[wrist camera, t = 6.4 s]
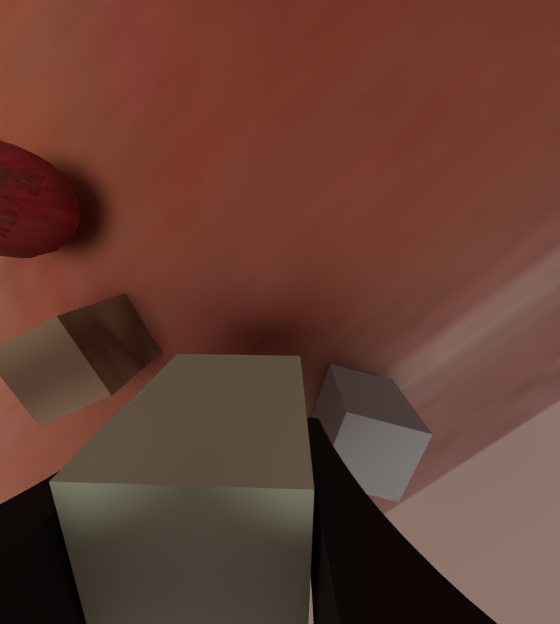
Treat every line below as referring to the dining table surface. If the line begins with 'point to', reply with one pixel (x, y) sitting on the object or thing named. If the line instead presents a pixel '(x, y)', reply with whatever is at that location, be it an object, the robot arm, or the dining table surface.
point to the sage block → (196, 498)
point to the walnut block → (76, 358)
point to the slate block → (372, 429)
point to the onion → (33, 205)
